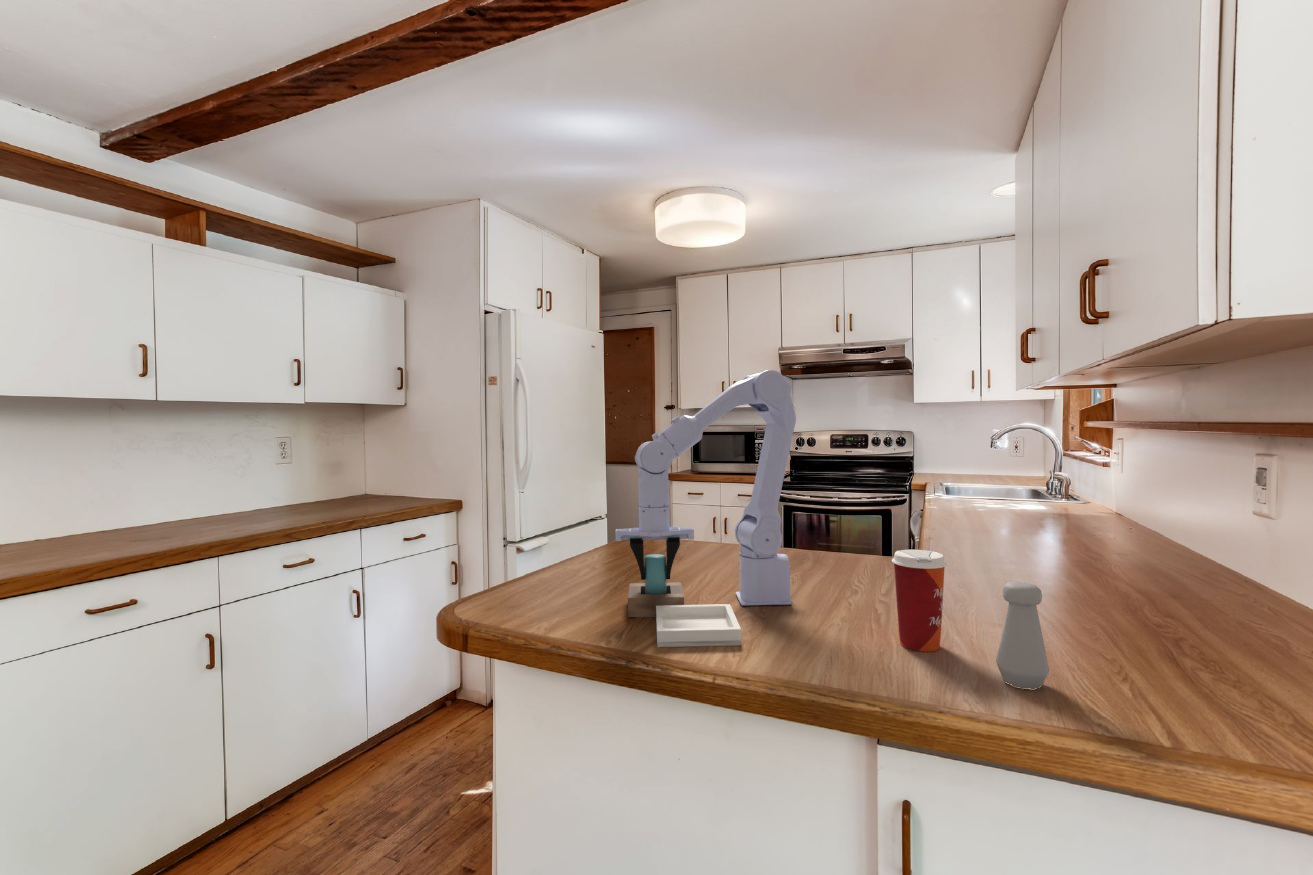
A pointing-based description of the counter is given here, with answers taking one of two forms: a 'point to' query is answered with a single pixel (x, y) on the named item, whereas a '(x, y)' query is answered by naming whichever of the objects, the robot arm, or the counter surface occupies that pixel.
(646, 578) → the dowel
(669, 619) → the tray
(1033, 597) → the salt shaker
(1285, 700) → the counter surface
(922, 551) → the paper cup
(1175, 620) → the counter surface
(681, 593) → the socket block
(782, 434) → the robot arm
